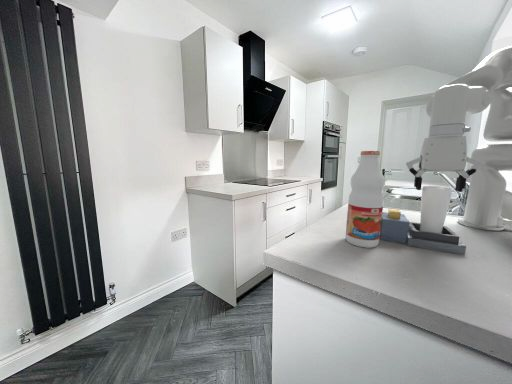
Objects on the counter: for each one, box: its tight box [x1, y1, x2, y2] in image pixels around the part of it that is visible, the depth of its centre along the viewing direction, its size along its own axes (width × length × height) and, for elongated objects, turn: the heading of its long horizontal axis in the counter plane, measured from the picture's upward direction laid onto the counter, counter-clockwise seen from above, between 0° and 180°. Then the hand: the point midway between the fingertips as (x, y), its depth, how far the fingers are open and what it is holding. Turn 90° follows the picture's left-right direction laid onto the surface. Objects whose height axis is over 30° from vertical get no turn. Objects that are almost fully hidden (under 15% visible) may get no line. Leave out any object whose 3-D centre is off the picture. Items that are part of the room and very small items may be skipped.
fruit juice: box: [345, 150, 386, 249], centre depth 64 cm, size 9×9×28 cm
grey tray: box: [379, 208, 467, 256], centre depth 68 cm, size 22×13×9 cm, turn 64°
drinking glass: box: [419, 185, 452, 234], centre depth 65 cm, size 7×7×15 cm
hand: (437, 190), depth 64 cm, fingers open, 9 cm apart
